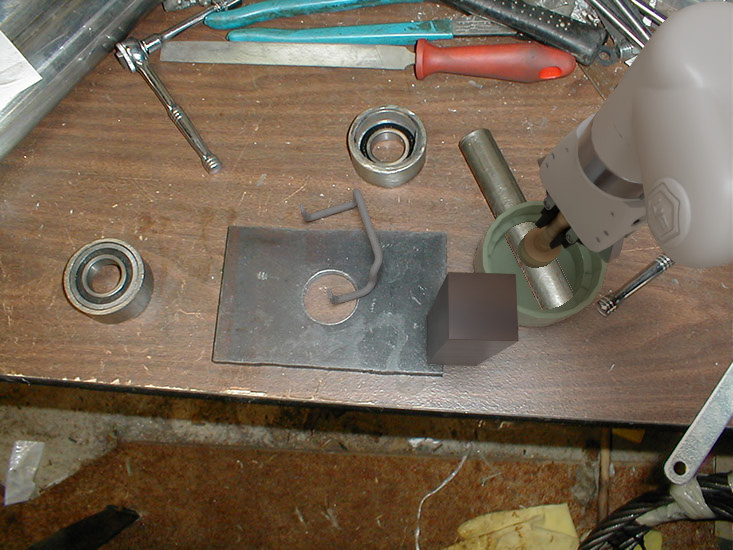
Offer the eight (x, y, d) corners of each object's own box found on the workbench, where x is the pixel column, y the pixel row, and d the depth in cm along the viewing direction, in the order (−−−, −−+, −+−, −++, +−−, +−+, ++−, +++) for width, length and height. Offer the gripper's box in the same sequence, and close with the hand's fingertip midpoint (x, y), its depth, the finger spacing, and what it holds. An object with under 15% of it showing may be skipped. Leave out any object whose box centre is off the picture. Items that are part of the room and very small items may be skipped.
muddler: (554, 269, 67) (596, 233, 54) (518, 268, 67) (551, 232, 54) (552, 235, 68) (593, 192, 56) (516, 234, 68) (549, 190, 56)
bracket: (303, 217, 72) (296, 202, 67) (361, 197, 72) (357, 181, 67) (332, 308, 69) (327, 299, 64) (392, 287, 69) (391, 277, 64)
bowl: (591, 329, 67) (611, 320, 62) (474, 325, 68) (484, 316, 62) (582, 220, 71) (601, 202, 65) (472, 217, 71) (481, 199, 66)
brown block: (476, 366, 66) (518, 341, 47) (426, 364, 66) (448, 339, 47) (475, 317, 68) (515, 273, 49) (426, 315, 68) (447, 271, 49)
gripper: (734, 212, 41) (625, 277, 59) (611, 52, 45) (543, 158, 63) (651, 258, 40) (566, 309, 58) (533, 90, 44) (487, 187, 62)
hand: (555, 230), depth 60 cm, fingers closed on muddler, 2 cm apart
